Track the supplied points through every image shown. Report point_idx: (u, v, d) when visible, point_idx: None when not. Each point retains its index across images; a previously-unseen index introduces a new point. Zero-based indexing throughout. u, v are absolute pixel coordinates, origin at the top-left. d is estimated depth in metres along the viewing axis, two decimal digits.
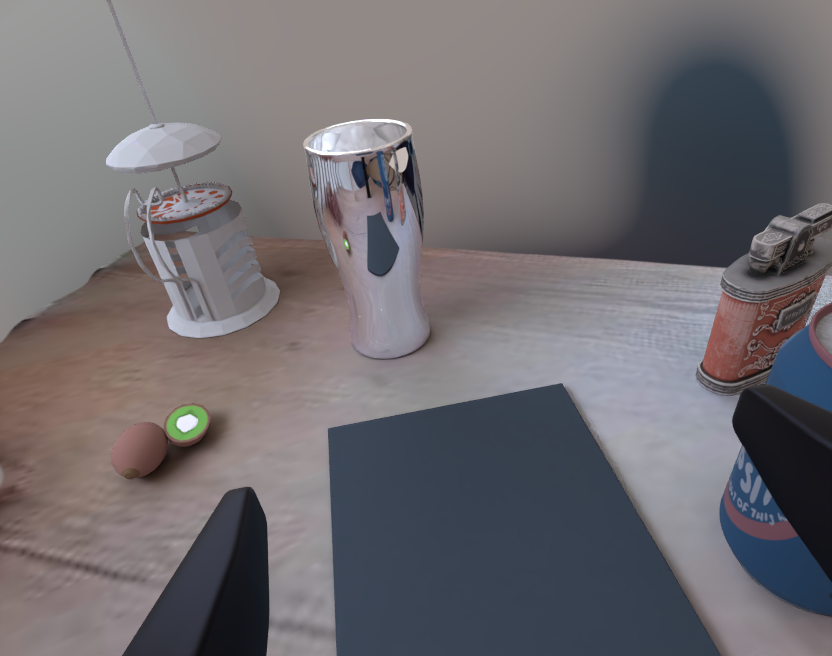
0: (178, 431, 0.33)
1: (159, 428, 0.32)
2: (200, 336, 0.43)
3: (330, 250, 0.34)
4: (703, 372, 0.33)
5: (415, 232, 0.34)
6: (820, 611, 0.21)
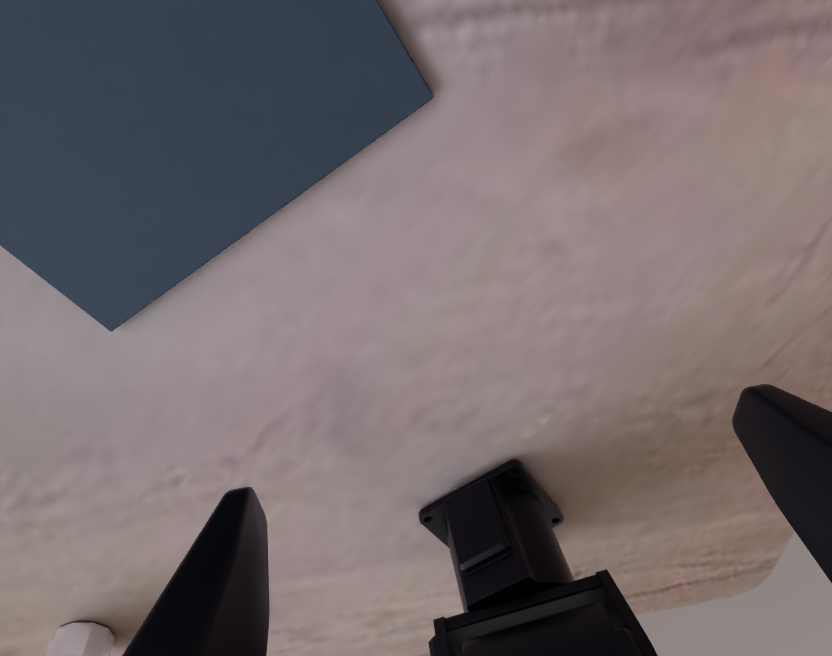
0: None
1: None
2: None
3: None
4: None
5: None
6: None
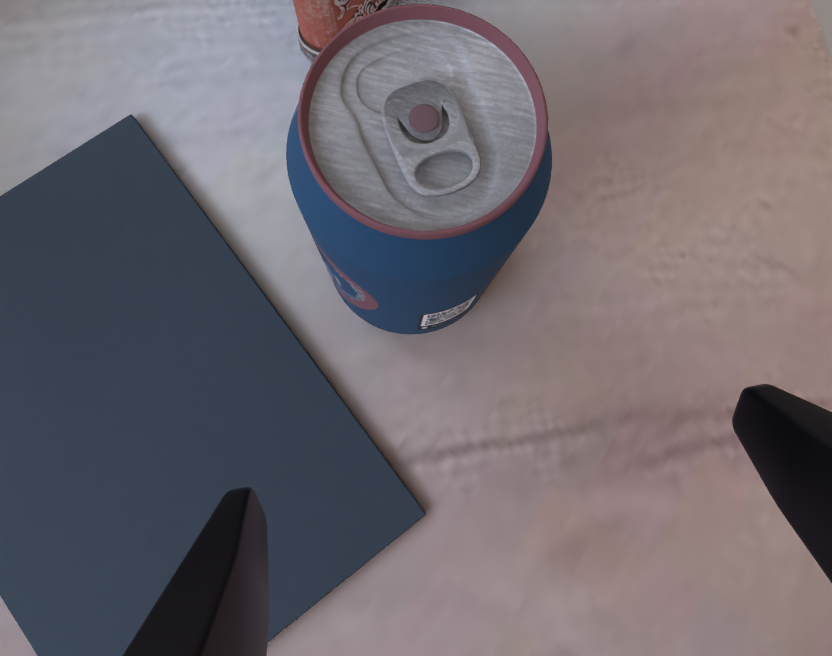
0: None
1: None
2: None
3: None
4: (303, 41, 0.25)
5: None
6: (417, 333, 0.22)
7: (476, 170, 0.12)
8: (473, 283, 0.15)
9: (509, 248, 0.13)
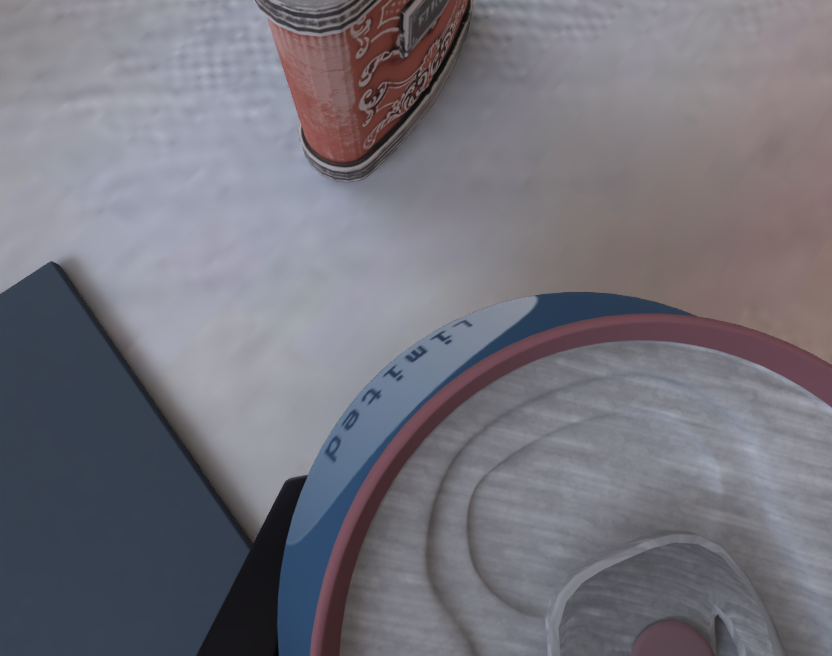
0: None
1: None
2: None
3: None
4: (308, 149, 0.17)
5: None
6: None
7: None
8: None
9: None
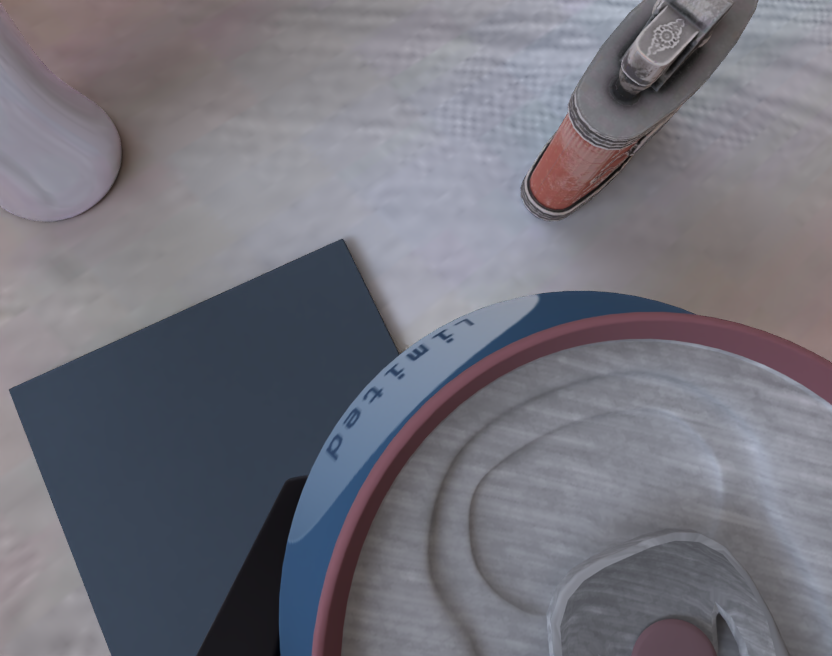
0: None
1: None
2: None
3: None
4: (530, 195, 0.23)
5: None
6: None
7: None
8: None
9: None
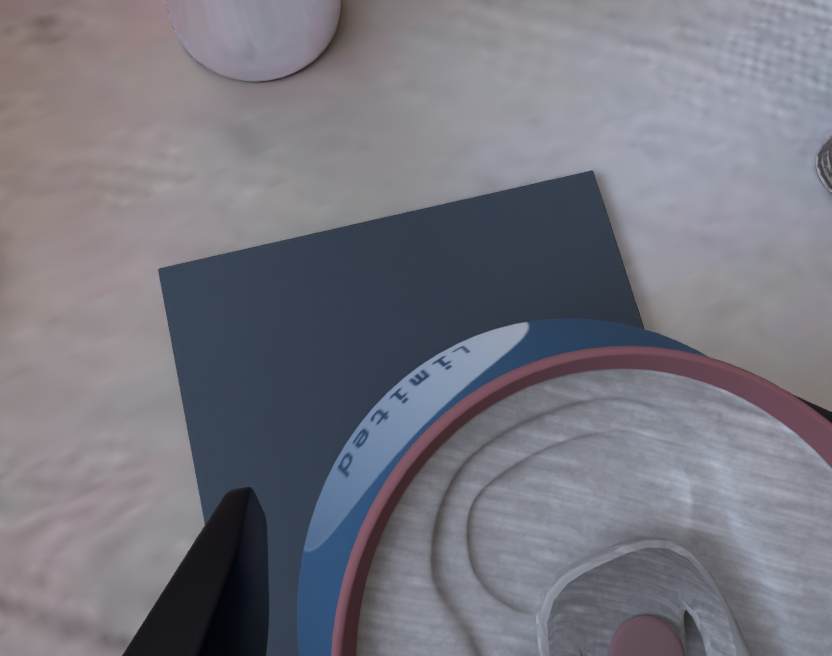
0: None
1: None
2: None
3: None
4: None
5: None
6: None
7: None
8: None
9: None
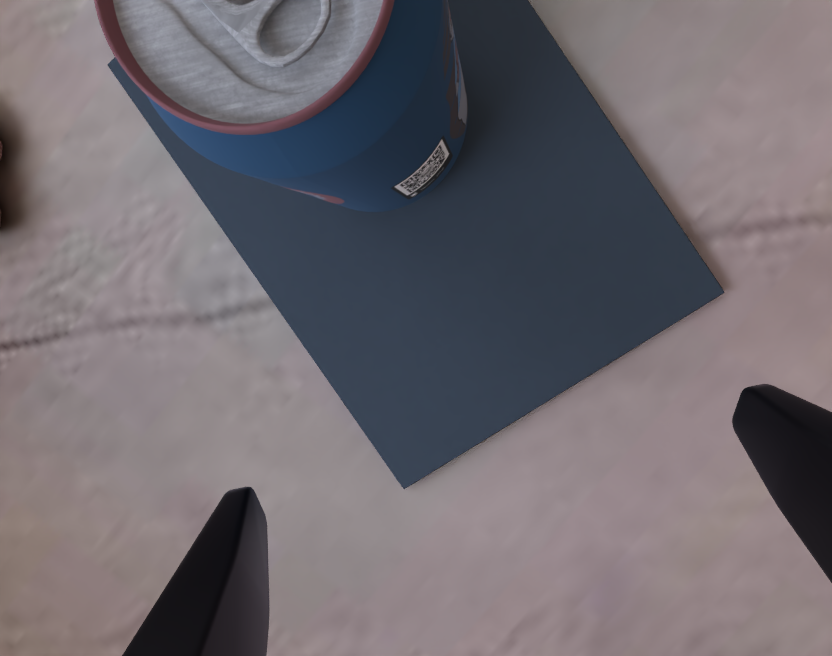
0: None
1: None
2: None
3: None
4: None
5: None
6: None
7: (326, 4, 0.09)
8: (413, 135, 0.13)
9: (421, 79, 0.11)
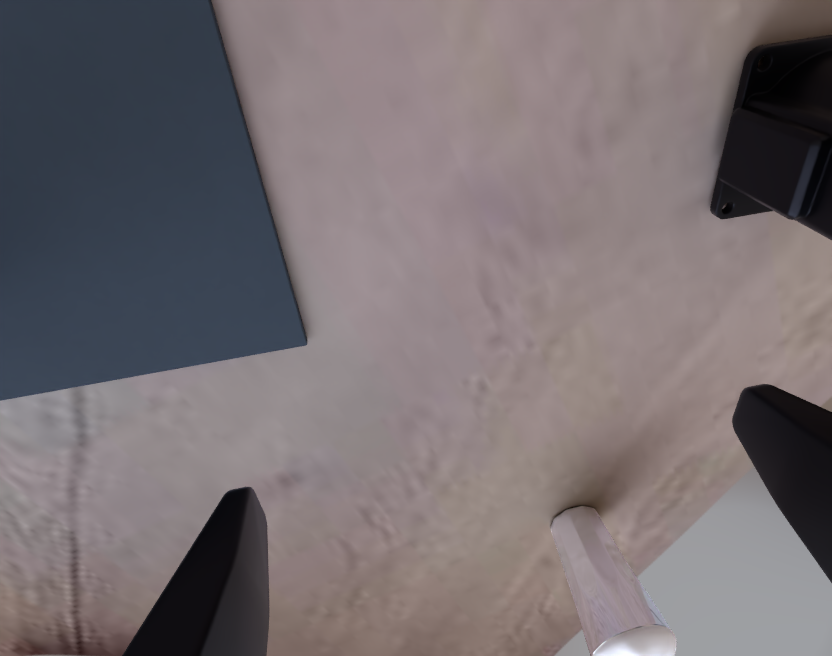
0: None
1: None
2: None
3: None
4: None
5: None
6: None
7: None
8: None
9: None
